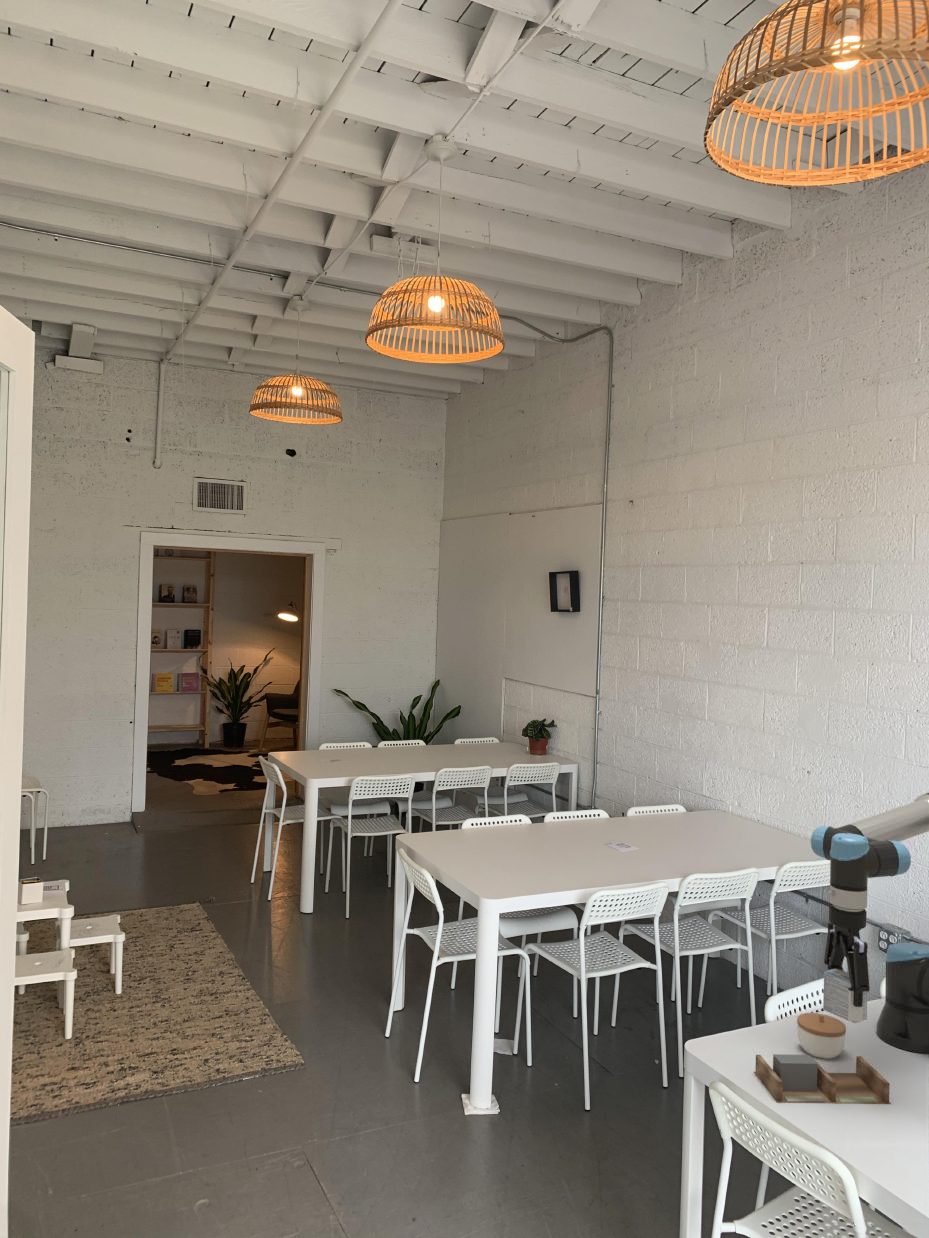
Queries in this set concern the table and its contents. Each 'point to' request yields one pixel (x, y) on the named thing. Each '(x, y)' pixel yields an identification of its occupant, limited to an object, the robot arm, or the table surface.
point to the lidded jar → (821, 1035)
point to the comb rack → (830, 1085)
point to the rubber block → (796, 1072)
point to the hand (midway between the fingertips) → (844, 1010)
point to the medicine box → (839, 994)
